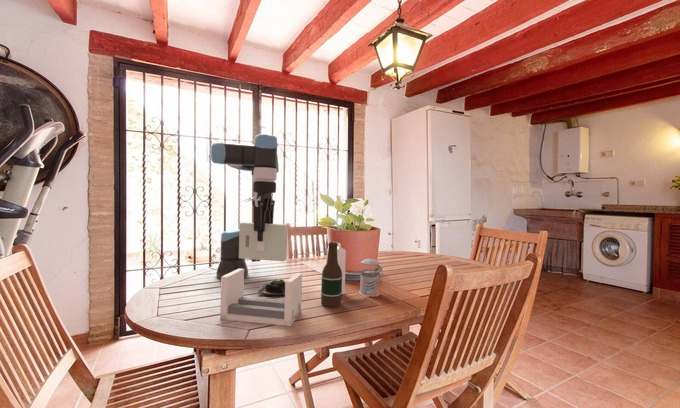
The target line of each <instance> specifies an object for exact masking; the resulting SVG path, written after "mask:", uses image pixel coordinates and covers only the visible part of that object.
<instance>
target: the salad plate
mask: <svg viewBox="0 0 680 408" xmlns="http://www.w3.org/2000/svg"><path fill="white" fill-rule="evenodd" d="M285 282H286V281H284V280H283V279H279V280H278V279H277V278H276V279H274V280H272V281H270V282H268V283H264V284H261V285H260V286H259V287H260V288H259V290H257V293H258V294H261V295H263V296H265V297H268V298H269V297H270V298H282V297H285Z"/></svg>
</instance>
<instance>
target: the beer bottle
mask: <svg viewBox="0 0 680 408" xmlns="http://www.w3.org/2000/svg"><path fill="white" fill-rule="evenodd" d="M338 243H339V242H337V243H336V241H330V242H328V244H327V245H328V248H329V250H328V260H327V264H325V265H324V267H323V269H322V272H321V290H320V291H321V293H320V302H321V305H322V307H324V308H326V307H328V308H327V309H336V308H335V307H337V308H338V306H339V307H340V306H341V305H342V271H341V268H340V266H339V265H338V260H337V246H338Z"/></svg>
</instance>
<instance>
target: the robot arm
mask: <svg viewBox="0 0 680 408" xmlns="http://www.w3.org/2000/svg"><path fill="white" fill-rule="evenodd" d="M210 148H211V149H210V159H211V162H212V163H213V164H220V165H227V166H228V167H230V168H233V169H236V170H240V171H247V172H251V176H252V177H253V180H254V181H253V185H252V187H253V189H252V191H253V200H252V207H253V208H252V209H253V221H252V223H254V231H257V251H265V235H266V232H264V229H265V224H274V213H275V203H276V200H275V199H274V200H273V197H272V196H273V195H272V194H276V192H277V182H276V181H277V175H278V174H277V173H279V158H278V157H279V156H278V138H277V137H276V136H275V135H272V134H265V133H263V134H262V133H261V134H257V135H255V136H254V143H253V144H246V143H245V144H244V143H242V144H241V143H233V142H232V143H230V142H222V141H221V142H218V141H217V142H216V141H215V142H212V144H211V147H210ZM237 269H244V278H247V277H248V276H249V269H248V266H247V262H246V259H242V258H239V228H235V229H229V230H228V229H227V230H225V231H223V232H221V237H220V262H219V263H218V267H217V270H216V278H217V279H220V280H221V277H222V276H224V275H226V274H228V273H230V272H233V271H235V270H237Z"/></svg>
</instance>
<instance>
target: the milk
mask: <svg viewBox="0 0 680 408" xmlns="http://www.w3.org/2000/svg"><path fill="white" fill-rule="evenodd" d="M335 242H336V241H335ZM336 243H338V246H337V260H338V265H339V266H340V268H341V271H342V294H343V295H345V294H344V293H346V292H345V291H346V290H345V289H346V265H347V264H346V260H347V259H346V258H347V249H345V248H343V247H342V244H341V243H340V242H336ZM328 250H329V247H328V248H326V260H325V261H326V264H327V260H328ZM326 264H325V265H326Z"/></svg>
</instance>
